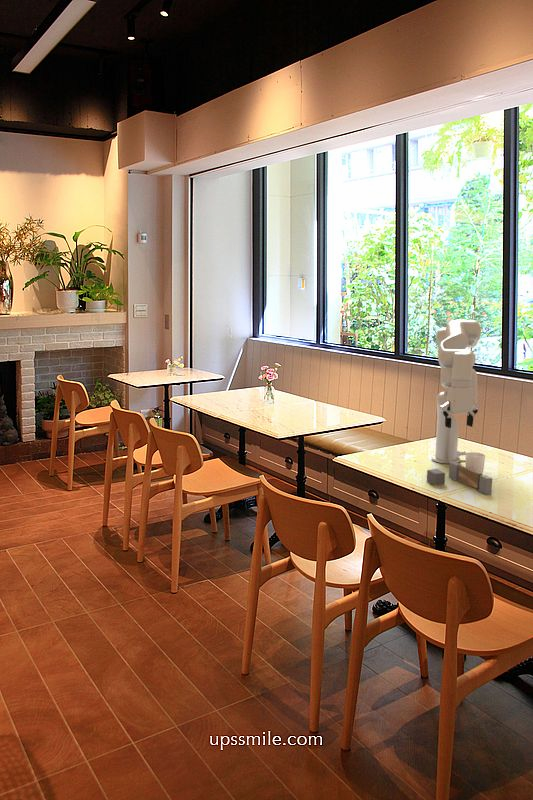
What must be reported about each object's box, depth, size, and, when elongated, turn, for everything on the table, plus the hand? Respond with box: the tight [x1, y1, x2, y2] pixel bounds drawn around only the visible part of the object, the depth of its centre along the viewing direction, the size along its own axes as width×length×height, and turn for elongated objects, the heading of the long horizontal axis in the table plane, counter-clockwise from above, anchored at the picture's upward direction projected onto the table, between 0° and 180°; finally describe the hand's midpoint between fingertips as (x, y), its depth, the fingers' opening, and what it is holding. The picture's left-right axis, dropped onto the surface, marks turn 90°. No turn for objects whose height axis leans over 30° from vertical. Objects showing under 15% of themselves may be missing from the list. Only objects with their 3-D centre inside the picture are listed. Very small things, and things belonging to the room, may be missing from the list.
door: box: [458, 465, 482, 491], centre depth 302 cm, size 2×14×6 cm, turn 21°
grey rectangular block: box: [426, 468, 446, 486], centre depth 305 cm, size 4×6×5 cm
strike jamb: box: [448, 462, 463, 481], centre depth 311 cm, size 2×5×6 cm, turn 21°
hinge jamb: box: [478, 474, 493, 496], centre depth 293 cm, size 2×5×6 cm, turn 21°
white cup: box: [464, 451, 486, 475], centre depth 312 cm, size 8×8×10 cm
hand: (458, 426), depth 295 cm, fingers open, 9 cm apart
